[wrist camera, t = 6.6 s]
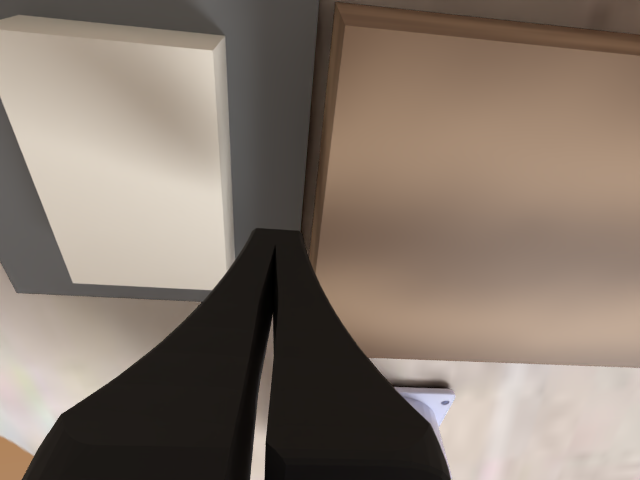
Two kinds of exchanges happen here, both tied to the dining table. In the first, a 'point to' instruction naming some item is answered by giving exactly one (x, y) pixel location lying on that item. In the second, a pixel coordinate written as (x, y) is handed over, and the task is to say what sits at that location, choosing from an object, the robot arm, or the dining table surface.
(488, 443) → the dining table surface
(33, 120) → the cream rectangular slab
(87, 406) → the robot arm
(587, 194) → the brown wooden block
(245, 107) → the mat
